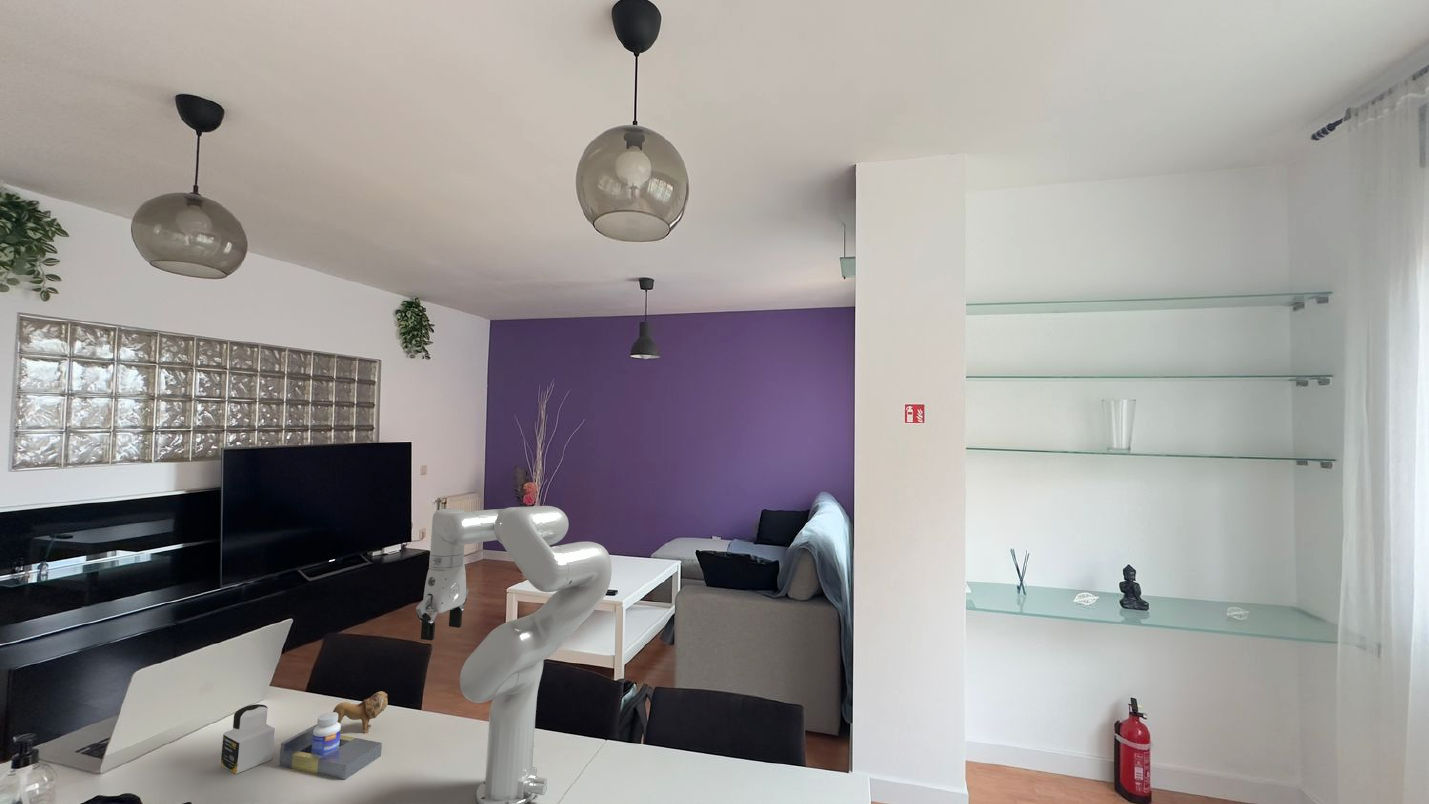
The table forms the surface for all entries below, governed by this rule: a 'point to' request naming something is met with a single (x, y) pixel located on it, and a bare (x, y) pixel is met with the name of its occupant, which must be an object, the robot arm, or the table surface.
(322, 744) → the pill bottle
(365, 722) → the lion figurine
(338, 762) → the grey and tan frame
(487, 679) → the robot arm
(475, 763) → the table surface
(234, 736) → the medicine bottle
